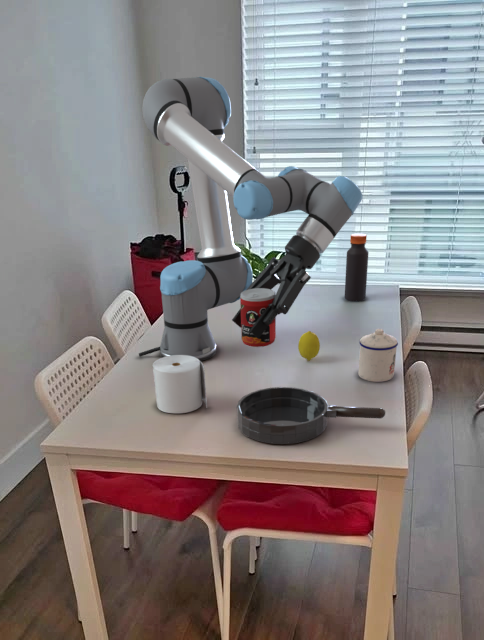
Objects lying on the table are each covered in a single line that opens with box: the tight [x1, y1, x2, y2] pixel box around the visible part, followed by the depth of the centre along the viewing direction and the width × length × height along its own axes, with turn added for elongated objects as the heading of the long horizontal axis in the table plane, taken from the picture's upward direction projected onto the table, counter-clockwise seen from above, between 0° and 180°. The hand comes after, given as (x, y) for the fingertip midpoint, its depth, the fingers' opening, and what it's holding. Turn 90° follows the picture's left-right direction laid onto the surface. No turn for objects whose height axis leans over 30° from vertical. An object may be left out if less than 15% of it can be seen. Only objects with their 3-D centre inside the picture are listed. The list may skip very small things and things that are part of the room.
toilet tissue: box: [152, 355, 208, 414], centre depth 153 cm, size 11×12×10 cm
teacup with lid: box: [357, 328, 399, 383], centre depth 164 cm, size 12×9×12 cm
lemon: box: [297, 330, 321, 362], centre depth 174 cm, size 6×6×8 cm
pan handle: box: [327, 404, 386, 420], centre depth 141 cm, size 12×3×2 cm, turn 81°
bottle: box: [344, 233, 369, 302], centre depth 215 cm, size 7×7×20 cm
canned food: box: [239, 288, 277, 348], centre depth 150 cm, size 8×8×11 cm
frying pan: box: [236, 386, 329, 445], centre depth 144 cm, size 19×19×4 cm
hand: (245, 329), depth 150 cm, fingers closed on canned food, 8 cm apart
